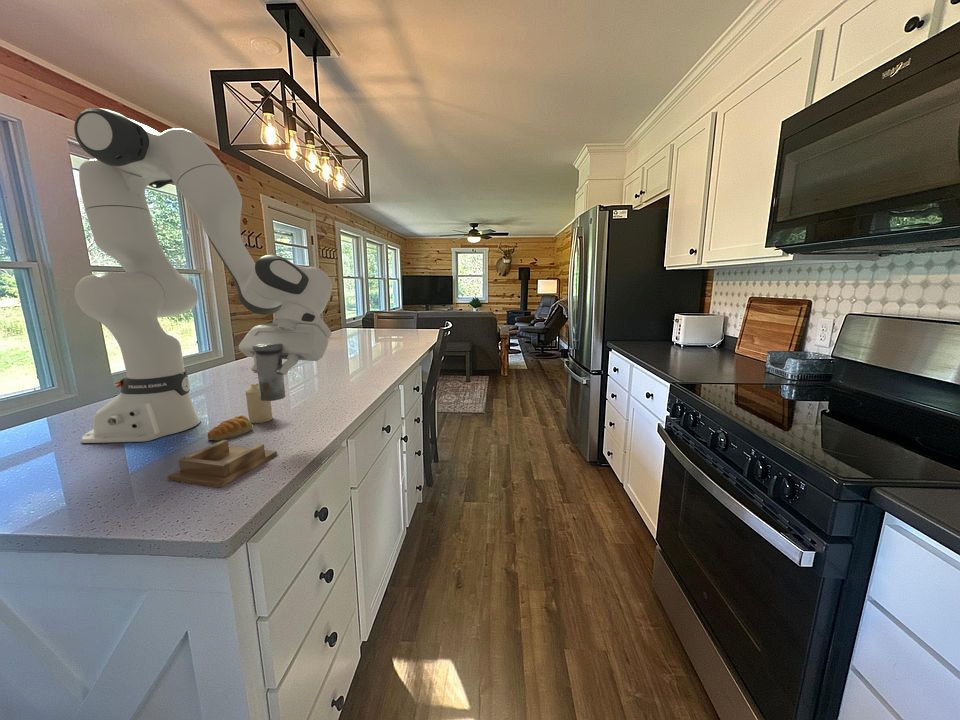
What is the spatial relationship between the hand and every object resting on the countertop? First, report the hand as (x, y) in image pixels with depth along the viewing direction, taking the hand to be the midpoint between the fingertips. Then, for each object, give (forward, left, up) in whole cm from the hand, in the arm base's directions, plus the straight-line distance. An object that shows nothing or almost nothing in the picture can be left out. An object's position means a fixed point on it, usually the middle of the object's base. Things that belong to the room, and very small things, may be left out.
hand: (268, 372), depth 84 cm
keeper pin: (0, +1, -6) cm, 6 cm away
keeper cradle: (-7, -9, -17) cm, 21 cm away
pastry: (-12, +10, -18) cm, 24 cm away
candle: (-8, +19, -17) cm, 27 cm away
